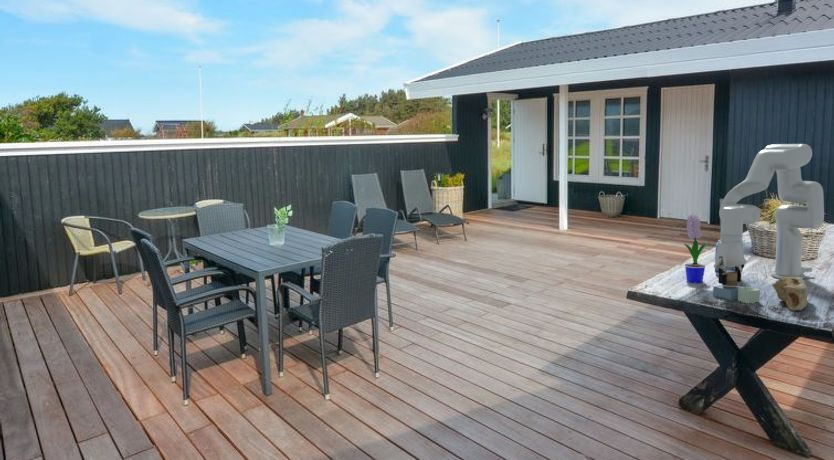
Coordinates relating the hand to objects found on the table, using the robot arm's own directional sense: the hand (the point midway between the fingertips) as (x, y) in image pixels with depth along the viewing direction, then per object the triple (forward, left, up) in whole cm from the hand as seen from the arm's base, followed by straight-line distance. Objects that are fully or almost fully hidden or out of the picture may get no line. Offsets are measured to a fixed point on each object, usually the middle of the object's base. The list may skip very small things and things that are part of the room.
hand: (729, 282), depth 223 cm
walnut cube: (0, 0, -1) cm, 1 cm away
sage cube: (-3, +8, -6) cm, 10 cm away
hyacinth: (+1, -24, -6) cm, 25 cm away
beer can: (-16, -32, -6) cm, 36 cm away
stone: (-15, +14, -6) cm, 21 cm away
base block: (0, 0, -6) cm, 6 cm away
